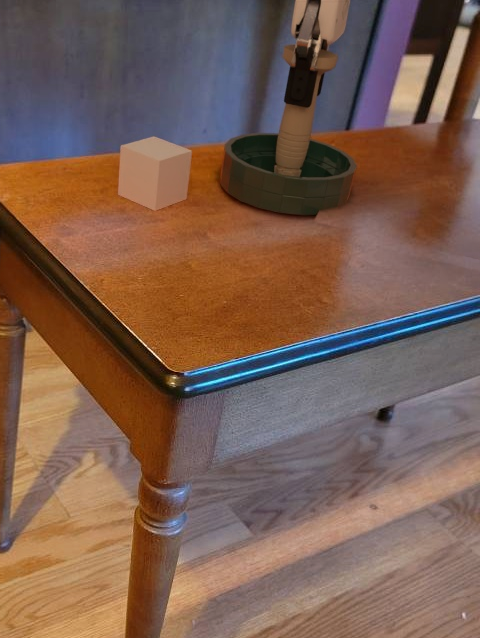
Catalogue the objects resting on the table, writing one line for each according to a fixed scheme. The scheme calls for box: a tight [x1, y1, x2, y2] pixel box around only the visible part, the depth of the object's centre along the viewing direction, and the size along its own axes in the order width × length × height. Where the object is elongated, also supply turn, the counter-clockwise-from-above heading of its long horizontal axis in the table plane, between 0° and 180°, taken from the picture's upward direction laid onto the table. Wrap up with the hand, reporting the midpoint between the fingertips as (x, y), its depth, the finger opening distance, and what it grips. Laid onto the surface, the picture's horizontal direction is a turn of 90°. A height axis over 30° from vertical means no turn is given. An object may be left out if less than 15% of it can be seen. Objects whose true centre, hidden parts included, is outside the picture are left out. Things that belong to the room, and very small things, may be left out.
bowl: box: [219, 132, 358, 216], centre depth 95 cm, size 17×17×5 cm
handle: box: [274, 44, 339, 176], centre depth 90 cm, size 5×6×15 cm
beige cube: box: [117, 136, 193, 212], centre depth 89 cm, size 6×6×6 cm
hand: (302, 97), depth 89 cm, fingers closed on handle, 5 cm apart
